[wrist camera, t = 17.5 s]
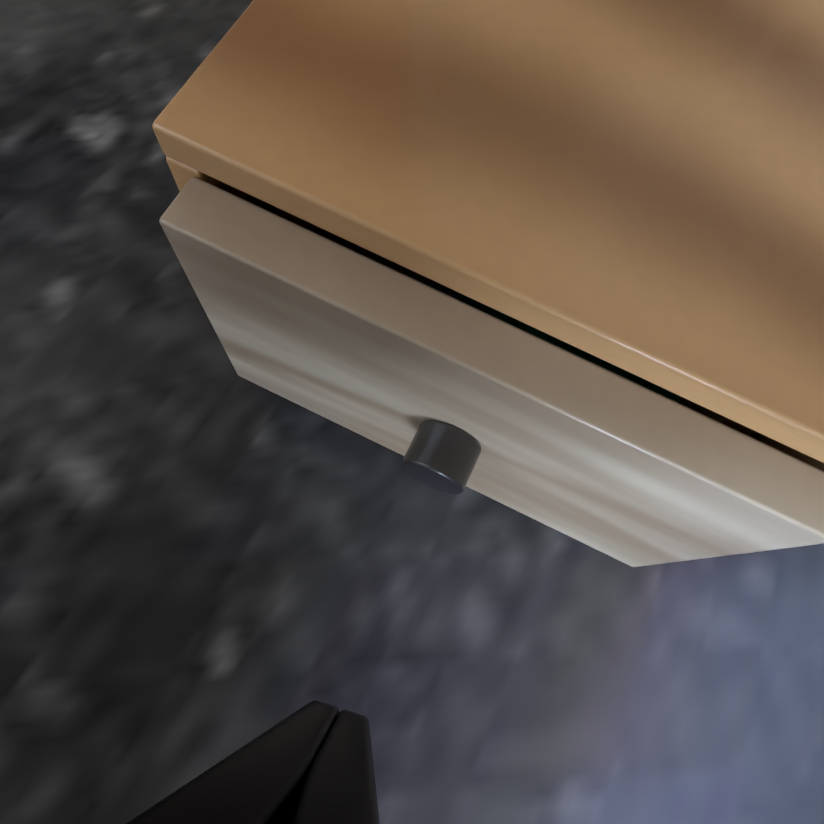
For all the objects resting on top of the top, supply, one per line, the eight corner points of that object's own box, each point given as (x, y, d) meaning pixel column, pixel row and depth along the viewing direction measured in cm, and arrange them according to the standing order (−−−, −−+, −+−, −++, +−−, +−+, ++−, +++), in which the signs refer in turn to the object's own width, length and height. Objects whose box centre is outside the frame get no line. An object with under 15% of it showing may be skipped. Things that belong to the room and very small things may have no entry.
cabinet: (649, 543, 19) (930, 487, 10) (244, 347, 19) (148, 124, 10) (769, 170, 24) (1024, -94, 15) (447, 27, 25) (502, -307, 16)
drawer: (621, 606, 17) (824, 609, 10) (216, 408, 18) (117, 270, 10) (757, 190, 22) (955, -12, 15) (441, 50, 23) (482, -210, 16)
